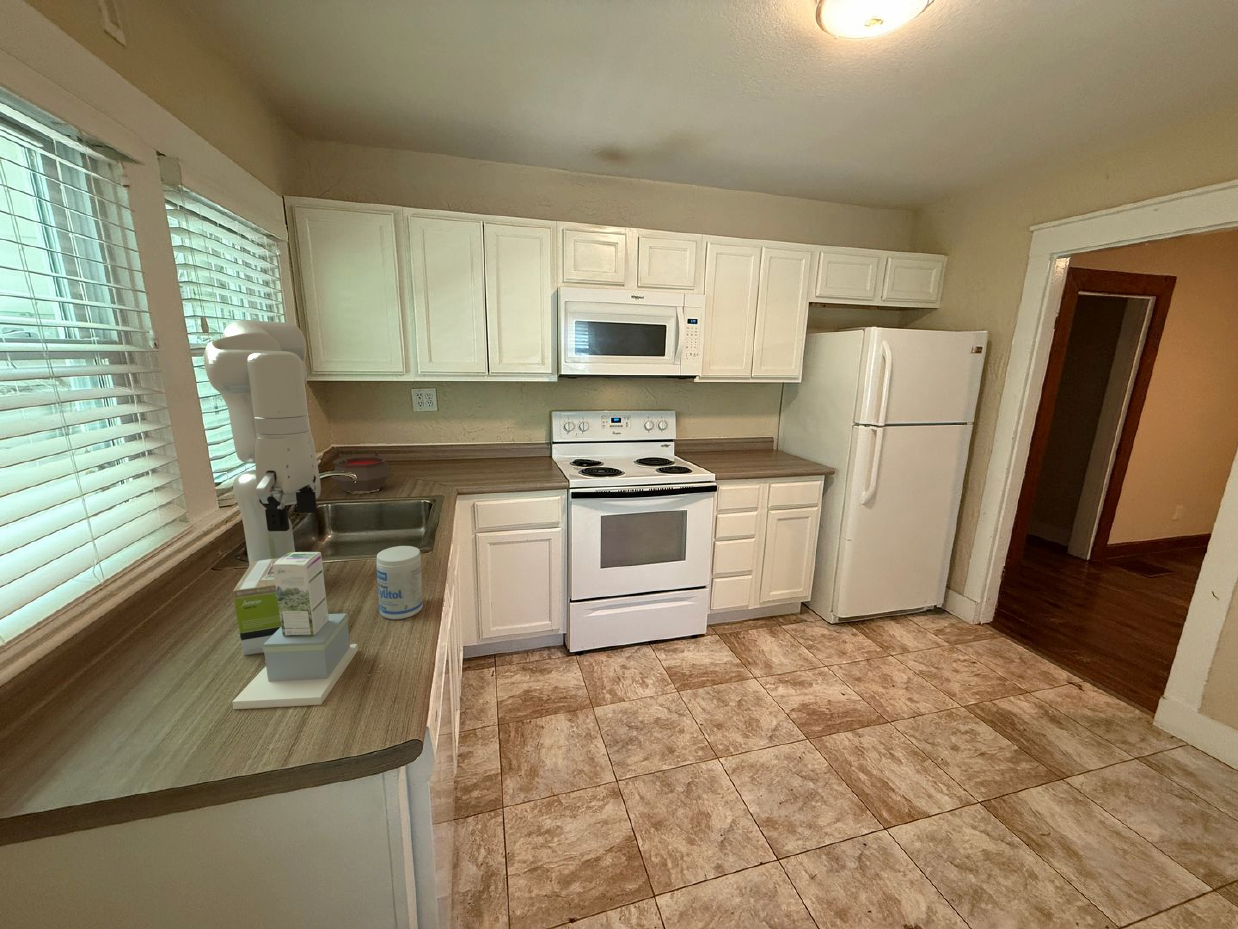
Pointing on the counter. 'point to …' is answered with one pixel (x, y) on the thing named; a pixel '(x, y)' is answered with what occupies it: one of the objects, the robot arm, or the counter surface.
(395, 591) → the supplement tub
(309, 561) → the syrup box
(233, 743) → the counter surface
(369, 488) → the dark round pot
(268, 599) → the tea box
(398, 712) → the counter surface
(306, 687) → the stand
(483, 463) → the counter surface
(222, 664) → the counter surface
